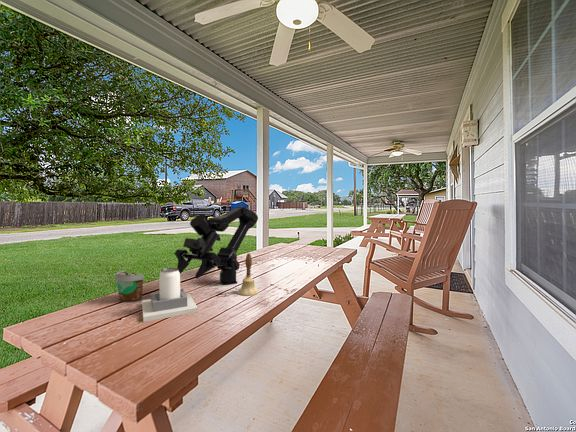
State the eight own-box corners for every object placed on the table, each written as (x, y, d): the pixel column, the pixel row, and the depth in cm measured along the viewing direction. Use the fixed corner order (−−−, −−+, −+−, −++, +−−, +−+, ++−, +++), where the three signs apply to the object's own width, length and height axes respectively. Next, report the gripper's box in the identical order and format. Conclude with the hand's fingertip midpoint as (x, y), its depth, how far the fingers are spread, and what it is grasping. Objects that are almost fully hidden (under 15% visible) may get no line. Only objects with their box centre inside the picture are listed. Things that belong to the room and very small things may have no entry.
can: (168, 309, 90) (168, 273, 89) (155, 305, 93) (154, 270, 92) (184, 303, 96) (184, 268, 95) (171, 300, 99) (171, 266, 98)
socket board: (189, 297, 106) (189, 285, 105) (197, 312, 92) (197, 298, 92) (142, 304, 98) (141, 292, 98) (143, 322, 84) (143, 307, 84)
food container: (107, 299, 103) (107, 273, 102) (124, 294, 108) (123, 269, 108) (128, 305, 97) (127, 277, 96) (144, 300, 102) (144, 273, 102)
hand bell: (260, 289, 116) (260, 251, 115) (256, 296, 108) (256, 255, 107) (240, 288, 117) (240, 251, 116) (235, 295, 108) (235, 255, 108)
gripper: (177, 228, 109) (154, 262, 100) (215, 231, 102) (194, 267, 92) (192, 245, 117) (172, 278, 108) (228, 249, 109) (210, 284, 100)
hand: (186, 276), depth 102 cm, fingers open, 9 cm apart
